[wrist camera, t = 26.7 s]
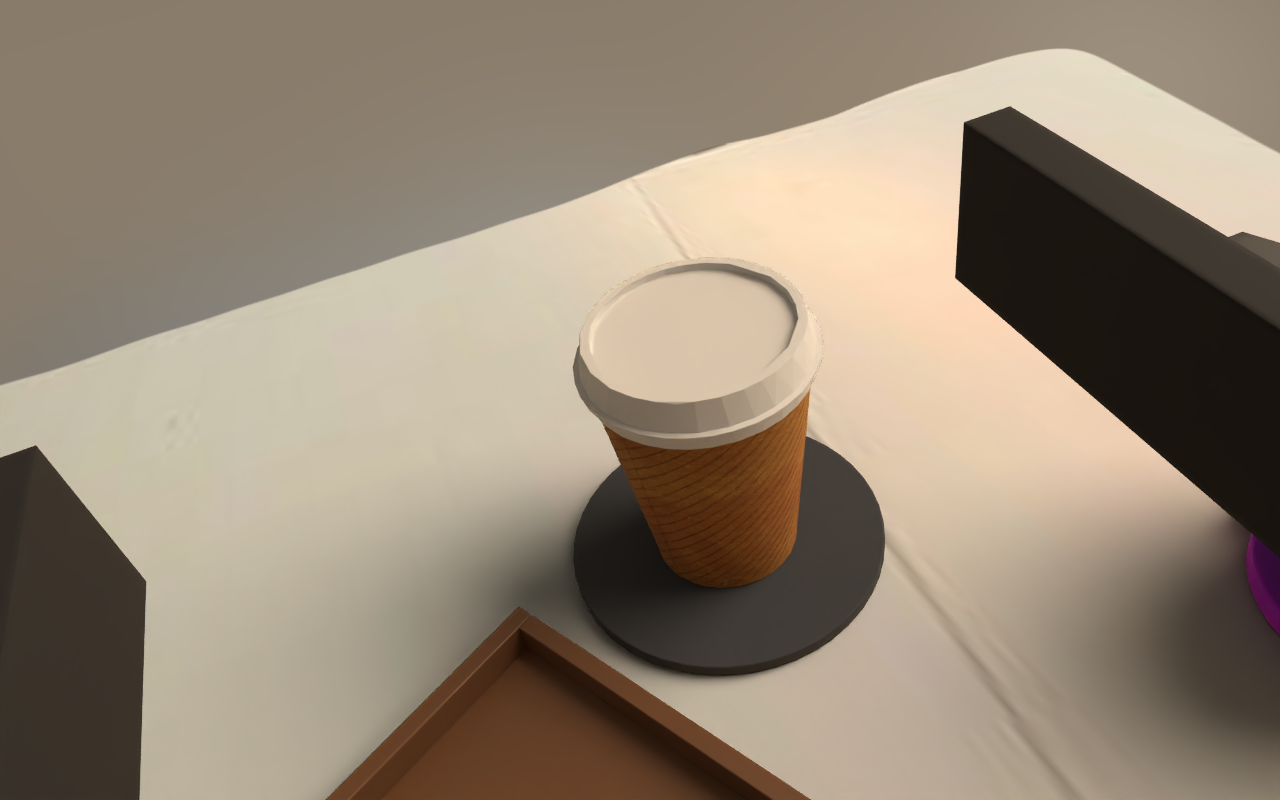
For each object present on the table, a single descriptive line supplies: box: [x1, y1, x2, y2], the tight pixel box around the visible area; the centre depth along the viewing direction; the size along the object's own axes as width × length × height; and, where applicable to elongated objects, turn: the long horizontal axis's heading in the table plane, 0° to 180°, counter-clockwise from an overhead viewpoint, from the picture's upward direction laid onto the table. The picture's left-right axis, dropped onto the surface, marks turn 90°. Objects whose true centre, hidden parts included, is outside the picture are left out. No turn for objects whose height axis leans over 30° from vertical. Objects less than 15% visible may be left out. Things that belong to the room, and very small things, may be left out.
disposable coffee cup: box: [573, 257, 824, 588], centre depth 41 cm, size 10×10×12 cm
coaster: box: [574, 437, 885, 675], centre depth 45 cm, size 14×14×1 cm
